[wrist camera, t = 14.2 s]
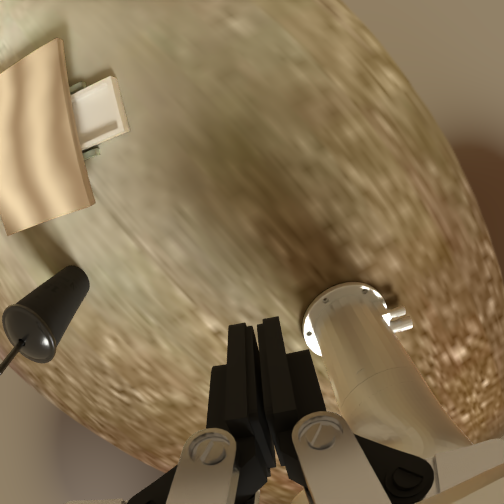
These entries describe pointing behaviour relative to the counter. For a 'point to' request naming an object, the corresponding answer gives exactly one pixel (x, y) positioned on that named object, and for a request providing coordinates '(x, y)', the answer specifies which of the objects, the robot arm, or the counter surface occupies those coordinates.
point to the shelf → (40, 142)
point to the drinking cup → (44, 316)
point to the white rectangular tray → (99, 113)
